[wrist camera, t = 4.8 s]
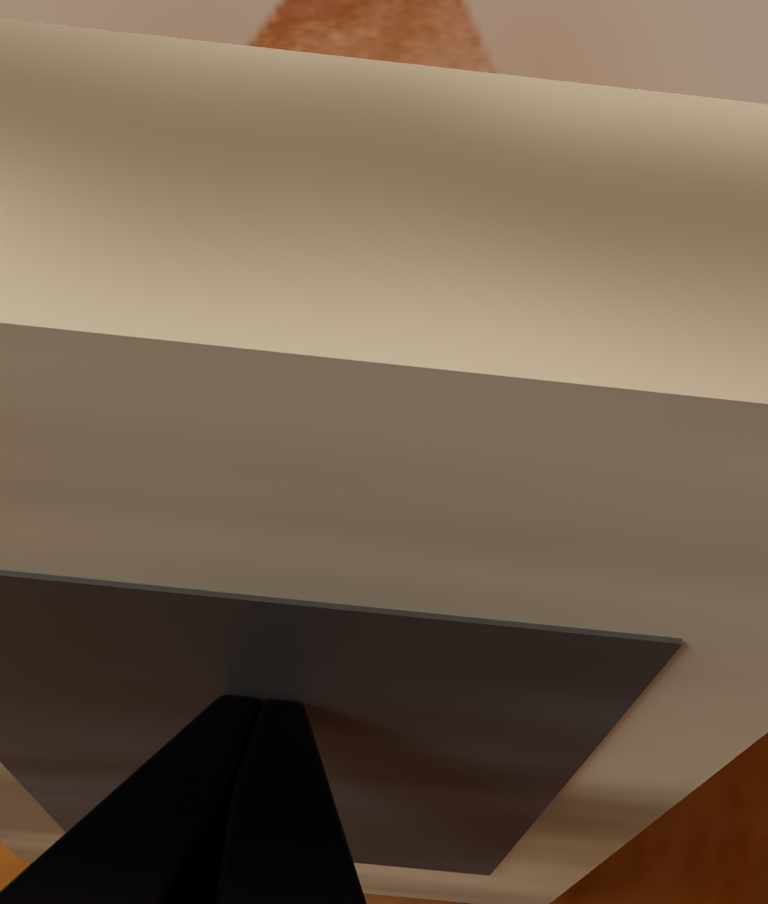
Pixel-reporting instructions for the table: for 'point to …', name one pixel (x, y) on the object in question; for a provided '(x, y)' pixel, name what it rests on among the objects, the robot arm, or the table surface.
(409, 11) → the table surface
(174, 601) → the birch block
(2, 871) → the table surface
